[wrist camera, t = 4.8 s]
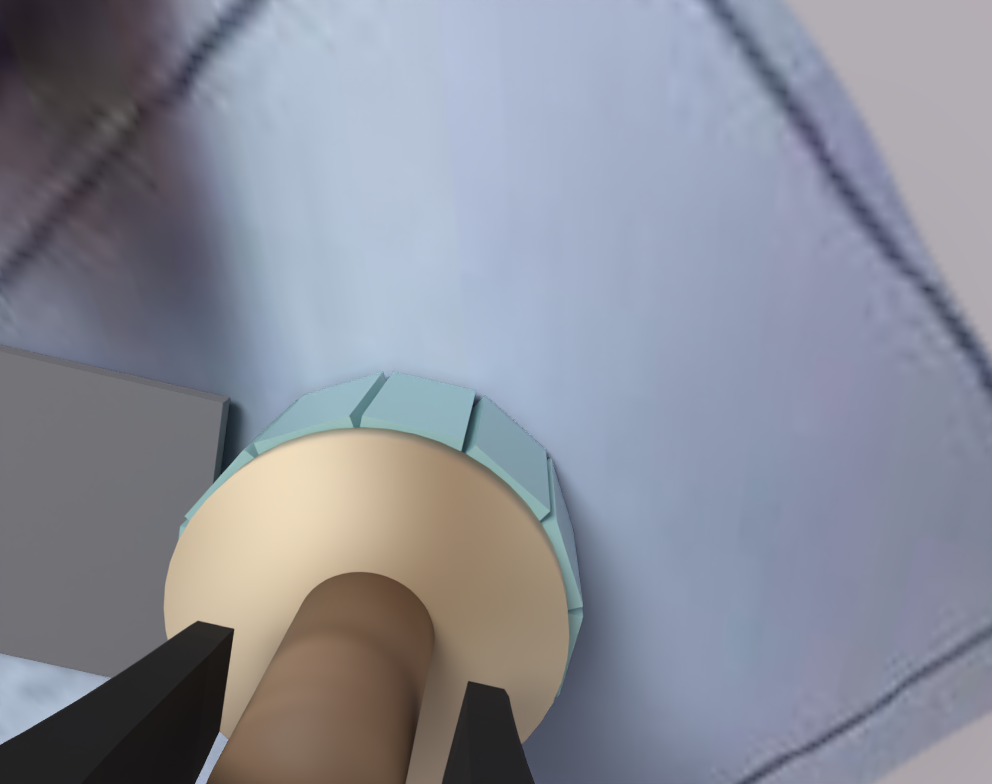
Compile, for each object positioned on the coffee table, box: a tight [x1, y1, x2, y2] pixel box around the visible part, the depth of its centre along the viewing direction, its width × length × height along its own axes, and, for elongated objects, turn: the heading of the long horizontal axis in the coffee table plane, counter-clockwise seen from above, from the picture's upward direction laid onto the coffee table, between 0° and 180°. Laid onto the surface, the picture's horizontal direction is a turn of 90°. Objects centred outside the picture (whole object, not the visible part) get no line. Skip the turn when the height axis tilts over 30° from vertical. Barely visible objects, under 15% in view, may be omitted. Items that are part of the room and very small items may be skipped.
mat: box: [0, 345, 230, 678], centre depth 17 cm, size 8×8×1 cm
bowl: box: [179, 371, 583, 706], centre depth 16 cm, size 8×8×3 cm
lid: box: [164, 427, 569, 784], centre depth 12 cm, size 8×8×5 cm
